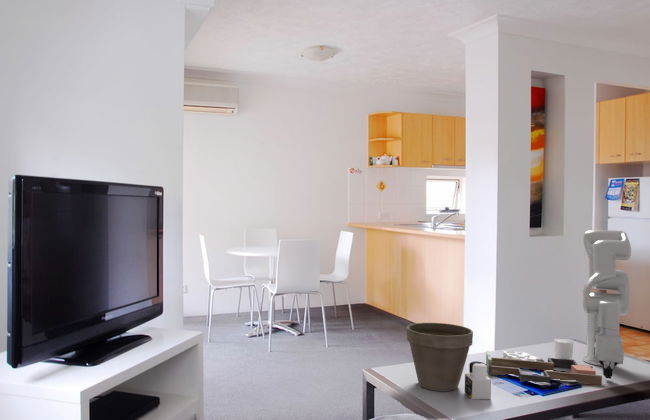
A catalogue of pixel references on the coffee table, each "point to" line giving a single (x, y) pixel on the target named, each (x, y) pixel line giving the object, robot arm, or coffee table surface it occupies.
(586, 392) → the coffee table surface
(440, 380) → the plant pot
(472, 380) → the medicine bottle
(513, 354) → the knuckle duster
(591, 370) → the salmon pink square block
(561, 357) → the white cup
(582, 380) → the channel
